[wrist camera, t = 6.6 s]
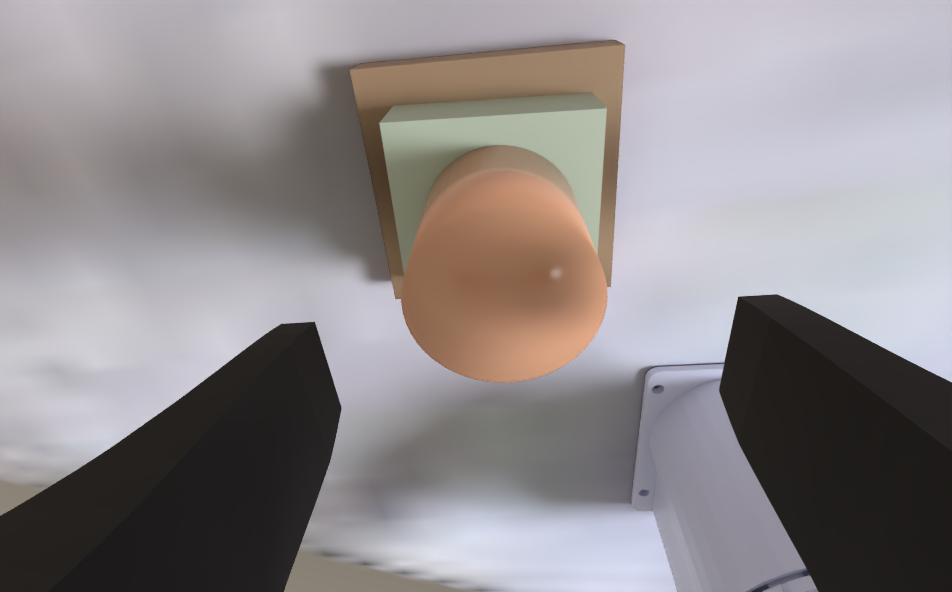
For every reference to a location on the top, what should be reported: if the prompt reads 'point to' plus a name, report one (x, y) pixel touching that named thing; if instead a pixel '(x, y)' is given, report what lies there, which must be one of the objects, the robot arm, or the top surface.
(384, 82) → the tower base
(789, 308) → the robot arm
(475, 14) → the top surface
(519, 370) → the terracotta cylinder
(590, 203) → the tower top
